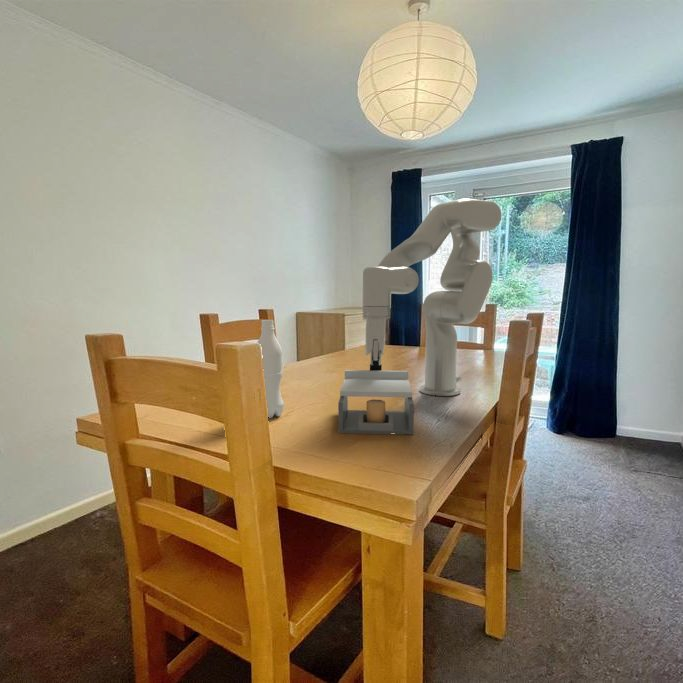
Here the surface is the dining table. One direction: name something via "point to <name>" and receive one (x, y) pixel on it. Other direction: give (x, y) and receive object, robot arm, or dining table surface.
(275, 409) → the water bottle
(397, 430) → the housing
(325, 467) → the dining table surface
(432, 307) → the robot arm
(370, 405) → the tan egg-shaped pebble
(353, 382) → the lid
